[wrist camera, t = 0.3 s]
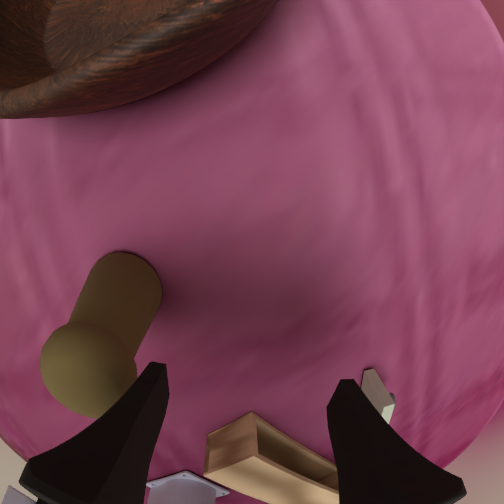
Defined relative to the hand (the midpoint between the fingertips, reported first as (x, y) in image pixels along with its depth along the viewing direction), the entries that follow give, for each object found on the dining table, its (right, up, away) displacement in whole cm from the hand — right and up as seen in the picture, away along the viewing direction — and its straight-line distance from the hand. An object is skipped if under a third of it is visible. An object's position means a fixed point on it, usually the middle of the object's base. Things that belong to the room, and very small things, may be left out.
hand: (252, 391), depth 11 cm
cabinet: (+4, -18, +16) cm, 24 cm away
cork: (-10, +3, +9) cm, 14 cm away
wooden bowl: (-9, +26, +4) cm, 28 cm away
